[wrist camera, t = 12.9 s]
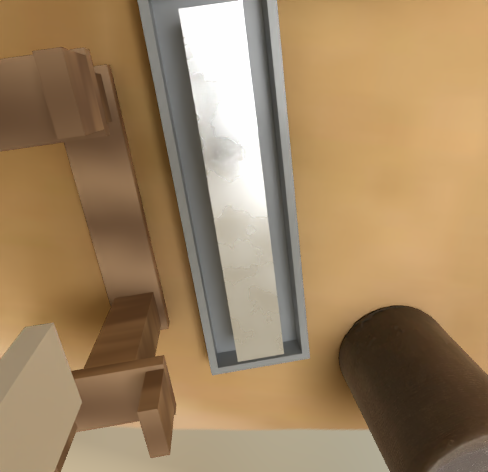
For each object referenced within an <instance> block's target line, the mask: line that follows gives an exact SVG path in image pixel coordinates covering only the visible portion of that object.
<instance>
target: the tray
mask: <svg viewBox="0 0 488 472" xmlns="http://www.w3.org/2000/svg"><path fill="white" fill-rule="evenodd" d="M137 1H138V6H139V11H140V16H141V21H142V26H143V31H144V36H145V41H146V46H147V51H148V56H149V61H150V66H151V71H152V76H153V81H154V87H155V92H156V97H157V102H158V107H159V112H160V117H161V122H162V127H163V132H164V137H165V142H166V147H167V152H168V157H169V162H170V167H171V172H172V177H173V182H174V187H175V192H176V197H177V202H178V207H179V212H180V217H181V222H182V227H183V232H184V237H185V242H186V247H187V252H188V257H189V262H190V267H191V272H192V277H193V282H194V287H195V293H196V298H197V303H198V308H199V313H200V318H201V323H202V328H203V333H204V338H205V343H206V348H207V353H208V358H209V363H210V368H211V373H212V375H217V374H222V373H228V372H234V371H240V370H246V369H251V368H257V367H263V366H269V365H274V364H280V363H286V362H292V361H297V360H303V359H309V358H310V353H309V342H308V332H307V321H306V310H305V299H304V288H303V277H302V267H301V256H300V245H299V234H298V223H297V213H296V202H295V191H294V180H293V169H292V158H291V148H290V137H289V126H288V115H287V104H286V94H285V83H284V72H283V61H282V50H281V40H280V29H279V18H278V7H277V0H137ZM234 1H242V4H243V13H244V21H245V29H246V38H247V46H248V55H249V63H250V71H251V80H252V88H253V97H254V105H255V113H256V122H257V130H258V139H259V147H260V155H261V164H262V172H263V181H264V189H265V197H266V206H267V214H268V223H269V231H270V239H271V248H272V256H273V265H274V273H275V281H276V290H277V298H278V307H279V315H280V323H281V332H282V340H283V349H284V354H281V355H275V356H269V357H263V358H258V359H252V360H246V361H240V362H238V359H237V353H236V347H235V341H234V335H233V329H232V324H231V318H230V312H229V306H228V300H227V294H226V288H225V282H224V276H223V270H222V264H221V258H220V252H219V247H218V241H217V235H216V229H215V223H214V217H213V211H212V205H211V199H210V193H209V187H208V181H207V175H206V169H205V164H204V158H203V152H202V146H201V140H200V134H199V128H198V122H197V116H196V110H195V104H194V98H193V92H192V87H191V81H190V75H189V69H188V63H187V57H186V51H185V45H184V39H183V33H182V27H181V21H180V15H179V9H182V8H189V7H197V6H204V5H212V4H219V3H227V2H234Z"/></svg>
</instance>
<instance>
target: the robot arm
mask: <svg viewBox="0 0 488 472" xmlns="http://www.w3.org/2000/svg"><path fill="white" fill-rule="evenodd" d="M81 404H82V400H81V398H80V395H79V392H78V389H77V386H76V384H75V381H74V378H73V375H72V373H71V370H70V367H69V364H68V361H67V359H66V356H65V353H64V350H63V347H62V345H61V342H60V339H59V336H58V333H57V331H56V328H55V325H54V323H47V324H41V325H35V326H29V327H25V328H24V329H23V330H22V332H21V333H20V334H19V335H18V337H17V338H16V339H15V341H14V342H13V343H12V345H11V346H10V347H9V348H8V350H7V351H6V352H5V354H4V355H3V356H2V358H1V359H0V472H54V471H55V469H56V466H57V464H58V461H59V459H60V456H61V454H62V451H63V449H64V446H65V444H66V441H67V439H68V436H69V434H70V431H71V429H72V426H73V424H74V421H75V419H76V416H77V414H78V411H79V409H80V406H81Z"/></svg>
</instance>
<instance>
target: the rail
mask: <svg viewBox="0 0 488 472" xmlns="http://www.w3.org/2000/svg"><path fill="white" fill-rule="evenodd" d="M179 15H180V21H181V27H182V33H183V39H184V45H185V51H186V57H187V63H188V69H189V75H190V81H191V87H192V92H193V98H194V104H195V110H196V116H197V122H198V128H199V134H200V140H201V146H202V152H203V158H204V164H205V169H206V175H207V181H208V187H209V193H210V199H211V205H212V211H213V217H214V223H215V229H216V235H217V241H218V247H219V252H220V258H221V264H222V270H223V276H224V282H225V288H226V294H227V300H228V306H229V312H230V318H231V324H232V329H233V335H234V341H235V347H236V353H237V359H238V362H240V361H246V360H252V359H258V358H263V357H269V356H275V355H281V354H284V349H283V340H282V332H281V323H280V315H279V307H278V298H277V290H276V281H275V273H274V265H273V256H272V248H271V239H270V231H269V223H268V214H267V206H266V197H265V189H264V181H263V172H262V164H261V155H260V147H259V139H258V130H257V122H256V113H255V105H254V97H253V88H252V80H251V71H250V63H249V55H248V46H247V38H246V29H245V21H244V13H243V4H242V1H234V2H227V3H219V4H212V5H204V6H197V7H189V8H182V9H179Z"/></svg>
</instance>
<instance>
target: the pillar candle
mask: <svg viewBox="0 0 488 472" xmlns="http://www.w3.org/2000/svg"><path fill="white" fill-rule="evenodd" d="M339 364H340V368H341V371H342V374H343V376H344V378H345V381H346V382H347V384H348V386H349V388H350V390H351V393H352V395H353V397H354V399H355V401H356V403H357V405H358V407H359V409H360V411H361V413H362V415H363V417H364V419H365V421H366V423H367V425H368V427H369V430H370V432H371V433H372V436H373V438H374V440H375V442H376V444H377V446H378V448H379V450H380V452H381V454H382V456H383V458H384V460H385V462H386V464H387V466H388V468H389V470H390V472H488V375H487V374H486V373H485V372H484V371H483V370H482V369H481V368H480V367H479V366H478V365H477V364H476V363H475V362H474V361H473V360H472V359H471V358H470V357H469V355H468V354H467V353H466V352H465V351H464V350H463V349H462V348H461V347H460V346H459V345H458V344H457V343H456V342H455V341H454V340H453V339H452V338H451V337H450V336H449V335H448V334H447V333H446V331H445V330H444V329H443V328H442V327H441V326H440V325H439V324H438V323H437V322H436V321H435V320H434V319H433V318H432V317H430V316H429V315H427V314H425V313H424V312H422V311H420V310H418V309H415V308H412V307H404V306H392V307H390V308H389V307H387V308H383V309H380V310H377V311H374V312H373V313H371V314H369V315H367V316H365V317H363V318H362V319H361V320H359V321H358V322H356V324H355V325H354V326H353V327H352V328H351V329H350V331H349V332H348V334H347V335H346V336H345V338H344V340H343V343H342V345H341V348H340V352H339Z"/></svg>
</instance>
